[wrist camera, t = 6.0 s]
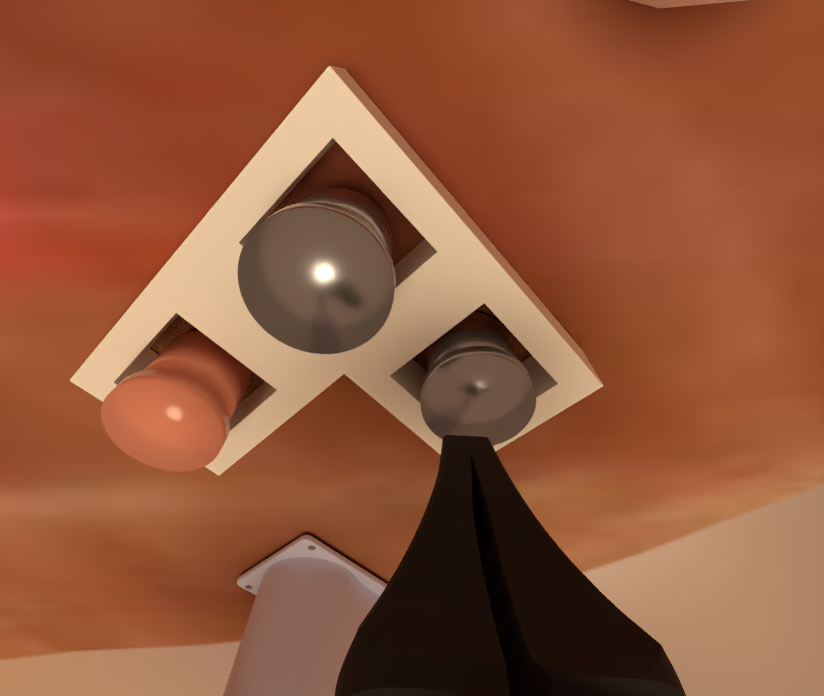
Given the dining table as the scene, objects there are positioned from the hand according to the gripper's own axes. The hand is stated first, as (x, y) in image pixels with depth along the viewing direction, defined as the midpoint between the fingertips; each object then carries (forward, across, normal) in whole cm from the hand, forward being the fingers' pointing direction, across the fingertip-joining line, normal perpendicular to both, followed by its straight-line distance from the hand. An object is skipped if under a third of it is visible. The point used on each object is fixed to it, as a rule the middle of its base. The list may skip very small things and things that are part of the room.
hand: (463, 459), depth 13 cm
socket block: (+9, +5, +2) cm, 11 cm away
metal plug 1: (+7, +5, -4) cm, 9 cm away
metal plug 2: (+9, -1, +1) cm, 9 cm away
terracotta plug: (+8, +11, +2) cm, 14 cm away
